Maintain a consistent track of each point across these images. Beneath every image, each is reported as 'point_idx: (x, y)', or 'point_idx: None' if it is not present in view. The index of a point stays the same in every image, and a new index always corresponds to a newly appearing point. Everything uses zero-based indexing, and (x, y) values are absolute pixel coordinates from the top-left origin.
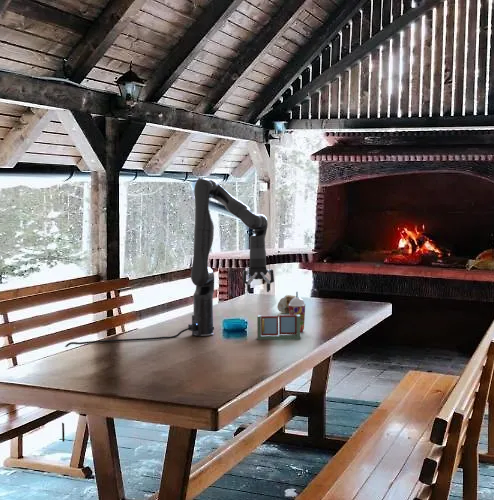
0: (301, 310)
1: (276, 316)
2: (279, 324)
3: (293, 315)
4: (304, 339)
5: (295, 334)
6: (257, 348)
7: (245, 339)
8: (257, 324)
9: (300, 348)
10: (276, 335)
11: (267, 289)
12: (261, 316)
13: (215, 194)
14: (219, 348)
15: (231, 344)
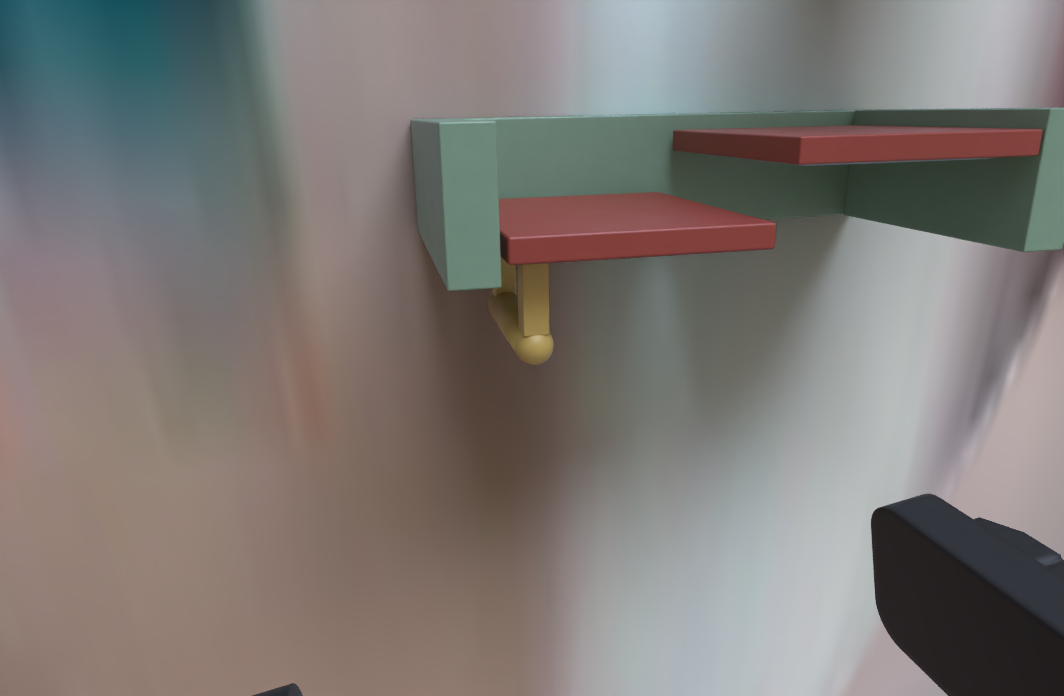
0: None
1: (748, 248)
2: (730, 155)
3: (994, 157)
4: None
5: (841, 114)
6: (452, 619)
7: (269, 211)
8: (435, 264)
9: (800, 578)
10: (637, 171)
11: (938, 683)
12: (515, 263)
13: None
14: (71, 665)
15: (155, 483)
